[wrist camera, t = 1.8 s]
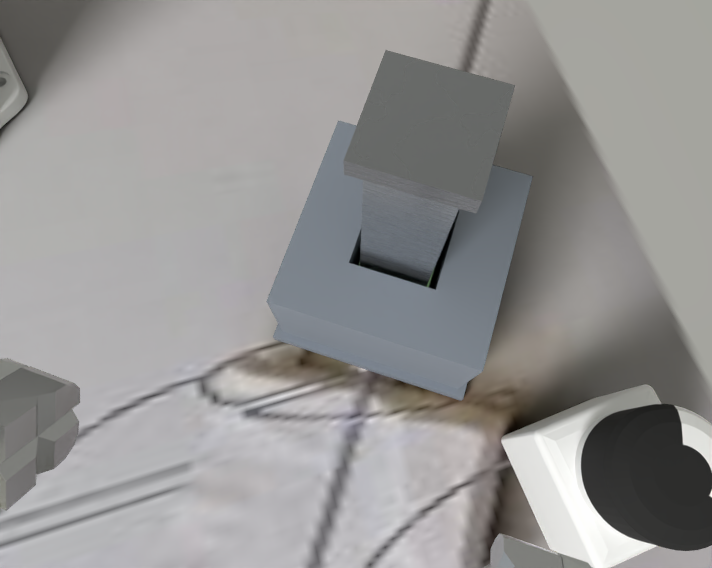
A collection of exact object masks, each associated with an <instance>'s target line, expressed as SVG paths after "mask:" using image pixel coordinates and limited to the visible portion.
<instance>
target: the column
mask: <svg viewBox="0 0 712 568" xmlns="http://www.w3.org/2000/svg"><path fill="white" fill-rule="evenodd" d="M514 88H515V85H512V84H508V83H505V82H501V81H497V80H494V79H490V78H486V77H483V76H479V75H475V74H472V73H468V72H464V71H461V70H457V69H453V68H449V67H446V66H442V65H438V64H435V63H431V62H427V61H424V60H420V59H416V58H413V57H409V56H405V55H402V54H398V53H394V52H391V51H387V50H386V51H385V53H384V56H383V59H382V61H381V64H380V67H379V69H378V72H377V74H376V77H375V80H374V82H373V85H372V87H371V90H370V93H369V95H368V98H367V100H366V103H365V106H364V108H363V111H362V113H361V116H360V119H359V121H358V124H357V127H356V129H355V132H354V134H353V137H352V140H351V142H350V145H349V147H348V150H347V153H346V155H345V158H344V160H343V163H344V175H347V176H351V177H354V178H357V179H361V180H363V196H362V223H361V250H360V263H359V266H361V267H364V268H367V269H370V270H374V271H377V272H380V273H383V274H387V275H390V276H393V277H396V278H399V279H403V280H406V281H409V282H412V283H415V284H419V285H422V286H425V287H428V288H429V284H430V281H431V278H432V274H433V271H434V268H435V265H436V263H437V260H438V258H439V255H440V253H441V251H442V248H443V246H444V243H445V241H446V239H447V236H448V234H449V231H450V229H451V227H452V224H453V222H454V219H455V217H456V215H457V212H458V210H459V209H462V210H466V211H469V212H472V213H477V211H478V209H479V207H480V205H481V202H482V200H483V196H484V193H485V189H486V186H487V182H488V179H489V175H490V172H491V168H492V165H493V161H494V158H495V154H496V151H497V147H498V144H499V140H500V137H501V133H502V130H503V126H504V123H505V119H506V116H507V112H508V109H509V105H510V102H511V98H512V95H513V91H514Z"/></svg>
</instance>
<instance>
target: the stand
mask: <svg viewBox="0 0 712 568" xmlns="http://www.w3.org/2000/svg"><path fill="white" fill-rule="evenodd" d="M356 127H357V126H356V125H352V124H349V123H345V122H342V121H338V123H337V125H336V128H335V130H334V133H333V135H332V138H331V141H330V143H329V146H328V148H327V151H326V153H325V156H324V158H323V161H322V163H321V166H320V168H319V171H318V173H317V176H316V178H315V181H314V183H313V186H312V188H311V191H310V193H309V196H308V198H307V201H306V203H305V206H304V208H303V211H302V214H301V216H300V219H299V221H298V224H297V226H296V229H295V231H294V234H293V236H292V239H291V241H290V244H289V246H288V249H287V251H286V254H285V256H284V259H283V261H282V264H281V266H280V269H279V271H278V274H277V276H276V279H275V282H274V284H273V287H272V289H271V292H270V294H269V297H268V299H267V303H268V305H269V307H270V309H271V311H272V313H273V314H274V316H275V318H276V320H277V322H278V325H277V328H276V330H275V333H274V336H273V337H274V339H275V340H278V341H281V342H284V343H287V344H290V345H293V346H296V347H300V348H303V349H306V350H309V351H312V352H315V353H318V354H321V355H324V356H327V357H330V358H333V359H336V360H339V361H342V362H345V363H348V364H351V365H354V366H357V367H360V368H363V369H366V370H369V371H372V372H375V373H378V374H381V375H385V376H388V377H391V378H394V379H397V380H400V381H403V382H406V383H409V384H412V385H415V386H418V387H421V388H424V389H427V390H430V391H433V392H436V393H439V394H442V395H445V396H448V397H451V398H454V399H457V400H460V401H461V400H463V398H464V394H465V390H466V386H467V382H468V381H470V380H471V379H473V378H474V377H475V376H477V375H478V374H480V373H481V372H482V371H483V369H484V365H485V361H486V357H487V353H488V349H489V345H490V341H491V338H492V334H493V330H494V326H495V322H496V318H497V314H498V310H499V306H500V302H501V299H502V295H503V291H504V287H505V283H506V279H507V275H508V271H509V267H510V263H511V260H512V256H513V252H514V248H515V244H516V240H517V236H518V232H519V228H520V224H521V221H522V217H523V213H524V209H525V205H526V201H527V197H528V193H529V189H530V186H531V182H532V178H533V176H530V175H527V174H523V173H520V172H516V171H513V170H509V169H506V168H502V167H499V166H495V165H492V168H491V172H490V175H489V179H488V182H487V186H486V189H485V193H484V196H483V200H482V202H481V205H480V207H479V209H478V211H477V213H472V212H469V211H466V210H462V209H459V210H458V212H457V215H456V217H455V219H454V222H453V224H452V227H451V229H450V231H449V234H448V236H447V239H446V241H445V243H444V246H443V248H442V251H441V253H440V255H439V258H438V260H437V263H436V265H435V268H434V271H433V274H432V278H431V281H430V284H429V288H428V287H425V286H422V285H419V284H415V283H412V282H409V281H406V280H403V279H399V278H396V277H393V276H390V275H387V274H383V273H380V272H377V271H374V270H370V269H367V268H364V267H361V266H359V263H360V250H361V223H362V196H363V180H361V179H357V178H354V177H351V176H347V175H344V163H343V160H344V158H345V155H346V153H347V150H348V147H349V145H350V142H351V140H352V137H353V134H354V132H355V129H356Z"/></svg>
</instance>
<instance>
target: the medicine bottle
mask: <svg viewBox="0 0 712 568" xmlns="http://www.w3.org/2000/svg"><path fill="white" fill-rule="evenodd" d="M501 441H502V444H503V447H504V449H505V451H506V453H507V456H508V458H509V460H510V462H511V464H512V467H513V469H514V471H515V473H516V475H517V478H518V480H519V482H520V484H521V486H522V489H523V491H524V493H525V495H526V497H527V500H528V502H529V504H530V506H531V508H532V511H533V513H534V515H535V517H536V519H537V522H538V524H539V526H540V528H541V530H542V533H543V535H544V537H545V539H546V541H547V544H548V546H549V548H550V549H551V550H553V551H555V552H558V553H561V554H564V555H567V556H570V557H573V558H576V559H579V560H582V561H585V562H588V563H589V565H590V566H591V567H593V568H610V567H613V566H615V565H617V564H619V563H621V562H623V561H626V560H628V559H630V558H632V557H634V556H636V555H639V554H641V553H643V552H645V551H647V550H649V549H652V548H654V547H656V546H661V547H665V548H669V549H674V550H681V551H691V550H699V549H702V548H706V547H708V546H711V545H712V424H711V423H710V422H709V421H707V420H706V419H704V418H703V417H702V416H700V415H698V414H696V413H695V412H693V411H690V410H688V409H685V408H683V407H679V406H675V405H668V404H662V403H661V402H660V400H659V398H658V396H657V394H656V393H655V391H654V389H653V388H652V387H651V386H650V385H647V384H645V385H640V386H637V387H633V388H629V389H626V390H622V391H618V392H615V393H611V394H607V395H604V396H600V397H596V398H593V399H590V400H588V401H586V402H583V403H581V404H578V405H576V406H574V407H571V408H569V409H566V410H564V411H562V412H559V413H557V414H555V415H552V416H550V417H547V418H545V419H543V420H540V421H538V422H535V423H533V424H531V425H528V426H526V427H523V428H521V429H519V430H516V431H514V432H511V433H509V434H507V435H504V436H503V437H502V440H501Z"/></svg>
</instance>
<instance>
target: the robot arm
mask: <svg viewBox="0 0 712 568" xmlns="http://www.w3.org/2000/svg"><path fill="white" fill-rule="evenodd" d="M4 84H5V85H4ZM3 85H4V86H3ZM27 99H28V94H27V91H26V89H25V87H24V85H23V83H22V81H21V79H20V77H19V75H18V73H17V71H16V69H15V67H14V65H13V62H12V60H11V58H10V56H9V54H8V52H7V50H6V48H5V46H4V44H3V42H2V40H1V38H0V129H1V127H2V126H3V125H4V124H6V123H7V122H8V121H9V120H10V119H11V118H12V117H14V116H15V115H16V114H17V113H18V112H19V111H20V110H21V109H22V108H23V106H24V105H25V104H26V102H27ZM79 403H80V388H79V387H78V386H77V385H76V384H74V383H72V382H70V381H67V380H65V379H62V378H59V377H57V376H54V375H51V374H49V373H46V372H44V371H41V370H38V369H36V368H33V367H28V366H26V365H24V364H21V363H18V362H16V361H13V360H11V359H8V358H7V359H0V509H3V510H8V509H9V508H10V507H11V506H12V505H13V504H14V503H16V502H17V501H18V500H19V499H20V498H21V497H22V496H24V495H25V494H26V493H27V492H28V491H29V490H31V489H32V488H33V487H34V486H35V485H36V479H37V474H40V473H43V472H46V471H49V470H52V469H54V468H56V467H57V466H58V465H59V464H60V463H61V462H62V461H63V460H64V459H65V458H66V457H67V455H68V454H69V452H70V451H71V449H72V447H73V446H74V444H75V441H76V438H77V435H78V428H79V421H78V419H77V417H76V416H75V414H74V412H73V410H72V409H73V408H74V407H75V406H77V405H78V404H79ZM483 568H592V567H591V566H590V565H589V563H588V562H585V561H582V560H579V559H576V558H573V557H570V556H567V555H564V554H561V553H556V552H553V551H550V550H547V549H544V548H542V547H539V546H536V545H533V544H530V543H527V542H524V541H521V540H518V539H515V538H512V537H510V536H507V535H504V534H501V533H500V534H499V535H498V536H497V537H496V539H495V541H494V543H493V545H492V547H491V564H489V565H487V566H485V567H483Z"/></svg>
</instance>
